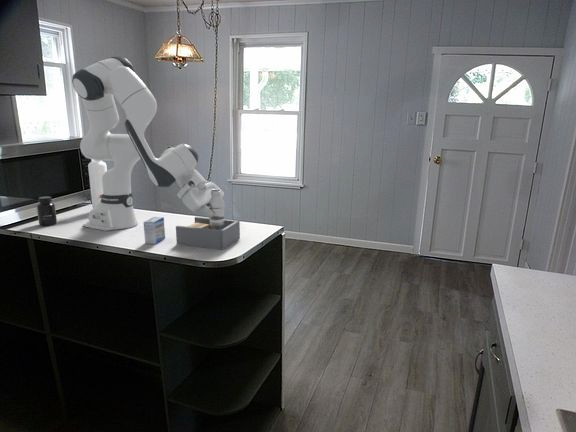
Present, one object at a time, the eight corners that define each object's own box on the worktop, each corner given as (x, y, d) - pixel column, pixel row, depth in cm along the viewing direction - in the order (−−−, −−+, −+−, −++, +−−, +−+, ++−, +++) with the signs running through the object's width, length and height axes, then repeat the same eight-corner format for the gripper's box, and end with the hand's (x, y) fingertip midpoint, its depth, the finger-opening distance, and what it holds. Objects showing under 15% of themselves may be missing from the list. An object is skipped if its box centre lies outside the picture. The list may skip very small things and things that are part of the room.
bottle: (114, 210, 203) (109, 153, 196) (103, 213, 196) (97, 155, 189) (100, 209, 206) (95, 153, 199) (89, 212, 198) (82, 154, 191)
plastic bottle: (223, 244, 153) (221, 192, 148) (206, 243, 154) (203, 191, 149) (228, 239, 159) (227, 189, 154) (212, 238, 160) (210, 188, 155)
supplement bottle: (47, 227, 173) (43, 199, 170) (35, 225, 175) (31, 198, 172) (61, 223, 179) (57, 196, 176) (49, 221, 181) (45, 195, 178)
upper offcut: (182, 235, 155) (181, 228, 154) (196, 229, 163) (196, 222, 162) (195, 237, 153) (194, 230, 152) (209, 231, 161) (209, 224, 160)
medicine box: (155, 244, 153) (154, 222, 150) (144, 243, 153) (143, 221, 151) (165, 238, 160) (164, 217, 158) (155, 237, 161) (153, 216, 159)
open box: (176, 244, 153) (175, 226, 151) (196, 233, 167) (196, 216, 165) (223, 249, 148) (222, 231, 146) (239, 237, 162) (239, 220, 160)
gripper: (204, 184, 165) (226, 210, 164) (173, 196, 146) (199, 225, 146) (213, 174, 162) (236, 200, 161) (183, 185, 143) (209, 214, 143)
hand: (218, 212), depth 153 cm, fingers closed on plastic bottle, 6 cm apart
